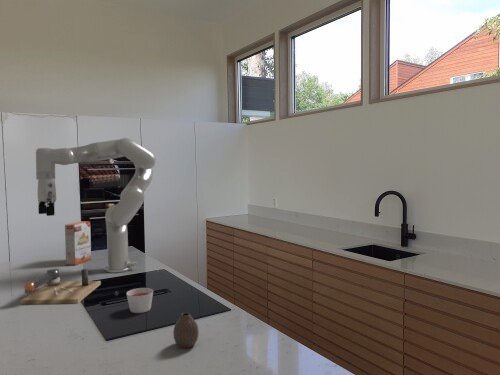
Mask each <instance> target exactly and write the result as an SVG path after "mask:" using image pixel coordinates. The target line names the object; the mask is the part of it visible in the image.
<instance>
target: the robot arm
mask: <svg viewBox="0 0 500 375" xmlns="http://www.w3.org/2000/svg"><path fill="white" fill-rule="evenodd" d="M123 157H125V158H127V159H128V160H129V161H131V162H132V163H133V165H134V168H135V172H134V174H133V176H132V177H131V179H130V180H129V182H128V183H127V184H126V186H125V187H124V189H123V190H122V191H121V193H120V195H119V197H120V199H119V201H118V203H117V204H112V205H111V206H109V207H108V208H107V209H106V211H105V214H104V216H105V226H106V244H107V245H106V246H107V266H106V267H104V271H105V272H107V273H112V274H113V273H114V274H115V273H124V272H129V271H130V270H132V269H133V267H137V266H138V261H132V260H131V258H129V240H128V239H129V238H128V236H129V235H128V234H129V232H128V224H129V223H130V222H131V221H132V220H133V218H134V216H135V215H136V214H137V213H138V211H139V209H140V208H141V207H142V205H143V204H144V201H145V194H144V193H145V192H146V190H147V188H148V187H149V185H150V184H151V182H152V179H153V168H154V167H155V164H156V157H155V155H154V154H153V153H152V152H150V151H149V150H148V149H146V148H144V147H143V146H142V145H140V144H138V143H137V142H135V141H133V140H132V139H130V138H127V137H123V138H120V139H113V140H105V141H99V142H92V143H89V144H86V145H82V146H75V147H68V148H67V147H63V148H62V147H61V148H49V147H48V148H47V147H46V148H45V147H39V148H37V149H36V150H35V172H36V173H35V175H36V176H35V177H36V178H35V179H36V180H37V201H38V214H39V215H44V214H45V215H46V216H49V217H51V216H55V214H56V212H55V203H56V201H57V188H56V181H55V180H56V165H60V166H61V165H62V166H67V165H72V164H79V163H87V162H98V161H106V160H112V159H118V158H123Z"/></svg>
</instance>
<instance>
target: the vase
mask: <svg viewBox="0 0 500 375" xmlns="http://www.w3.org/2000/svg"><path fill="white" fill-rule="evenodd" d="M198 326H199V325H198V323H197V321H196V320H195V319H194V318H193V317H192V315H191V314H190V312H183V313H181V314H180V317H179V318H178V319H177V321H176V322H175V325H174V328H173V332H172V333H173V339H174V342H175V344H176V346H178V347H180V348H182V349H189V348H191V347H193V346H194V345H195V344H196V343H197V341H198V338H199V327H198Z"/></svg>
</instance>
